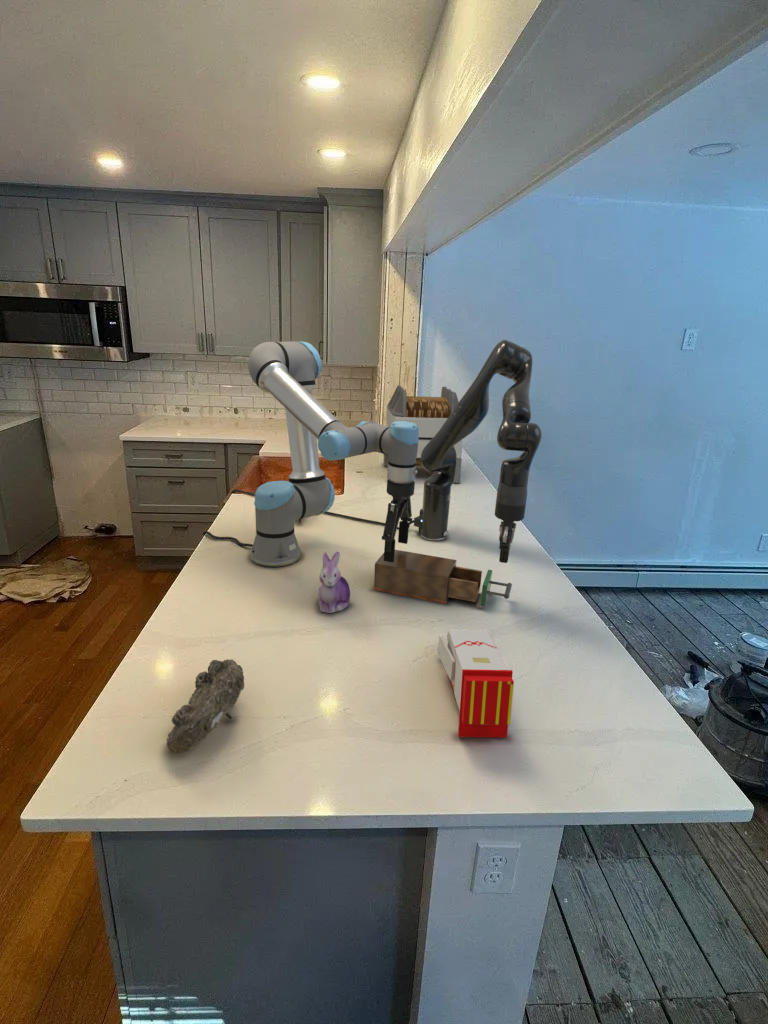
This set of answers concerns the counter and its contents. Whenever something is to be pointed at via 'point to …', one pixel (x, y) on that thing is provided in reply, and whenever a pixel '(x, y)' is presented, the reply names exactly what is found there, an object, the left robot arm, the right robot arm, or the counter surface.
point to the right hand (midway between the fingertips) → (503, 561)
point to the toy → (478, 682)
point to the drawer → (472, 585)
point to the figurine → (332, 586)
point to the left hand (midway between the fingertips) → (396, 551)
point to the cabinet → (414, 576)
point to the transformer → (424, 418)
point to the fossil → (206, 705)
